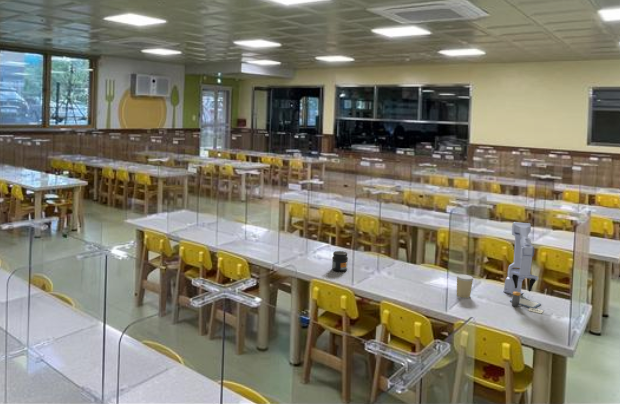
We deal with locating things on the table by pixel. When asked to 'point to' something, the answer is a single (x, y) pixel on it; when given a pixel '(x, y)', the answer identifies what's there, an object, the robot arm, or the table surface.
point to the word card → (535, 310)
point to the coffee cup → (464, 285)
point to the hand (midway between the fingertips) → (522, 289)
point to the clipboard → (528, 303)
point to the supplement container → (339, 261)
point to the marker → (516, 299)
